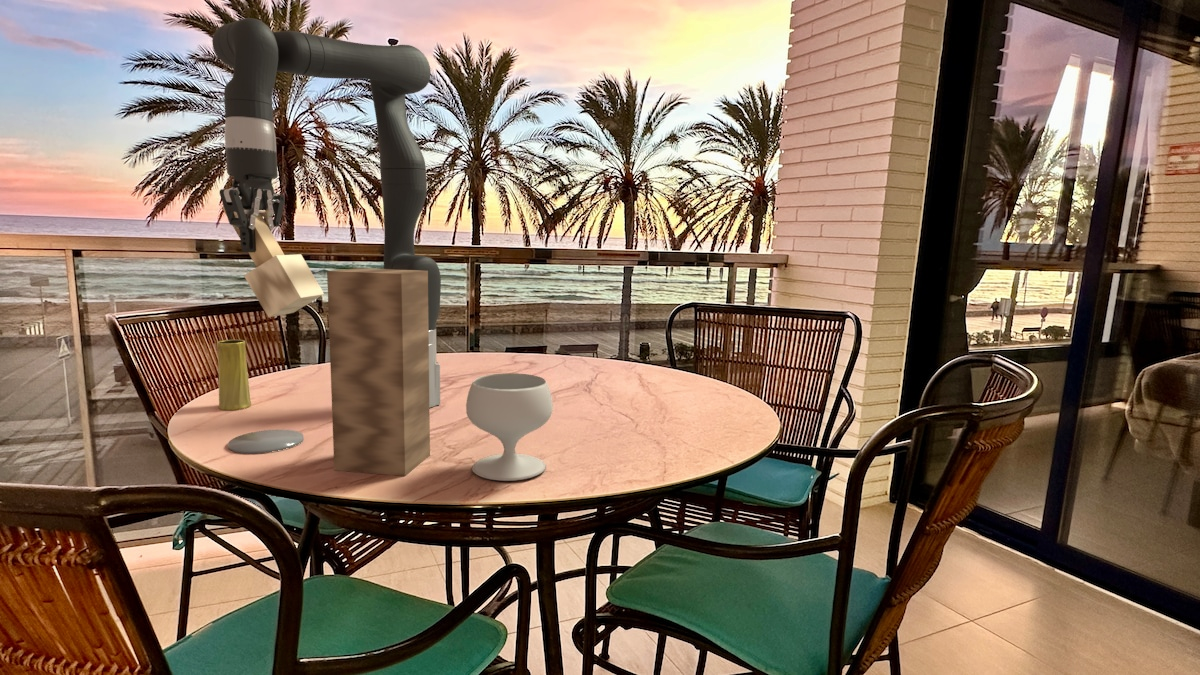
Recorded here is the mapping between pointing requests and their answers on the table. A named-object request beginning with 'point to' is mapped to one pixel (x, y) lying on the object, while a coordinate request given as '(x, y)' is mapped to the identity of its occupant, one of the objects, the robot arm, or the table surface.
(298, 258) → the mallet
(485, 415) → the chalice
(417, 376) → the herringbone wood pillar
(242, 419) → the table surface
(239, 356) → the vase
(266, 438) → the grey flat disc
